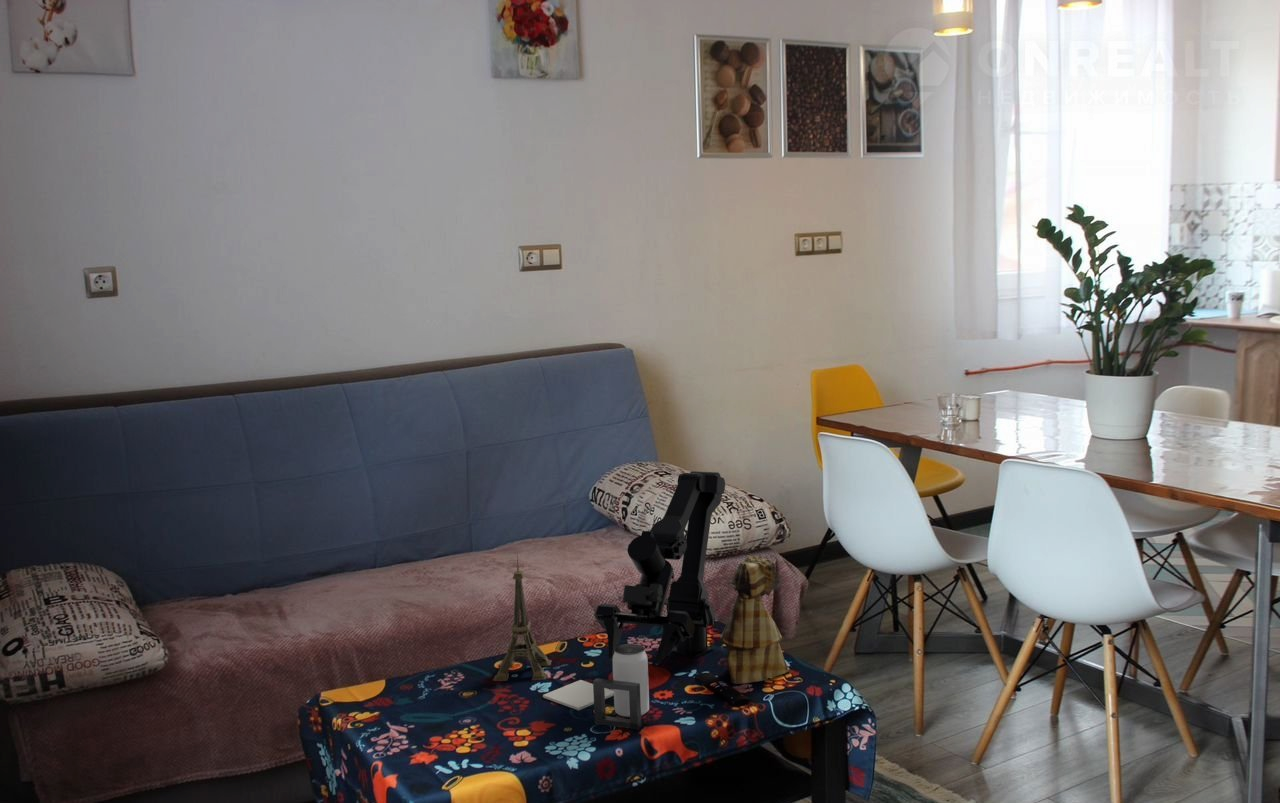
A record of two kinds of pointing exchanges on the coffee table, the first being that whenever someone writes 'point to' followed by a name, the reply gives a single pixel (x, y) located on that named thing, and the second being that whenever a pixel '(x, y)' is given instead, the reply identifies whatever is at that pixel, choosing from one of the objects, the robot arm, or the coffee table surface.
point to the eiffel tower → (528, 646)
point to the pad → (576, 695)
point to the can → (630, 676)
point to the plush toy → (753, 625)
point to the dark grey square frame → (633, 701)
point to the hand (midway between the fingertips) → (633, 661)
